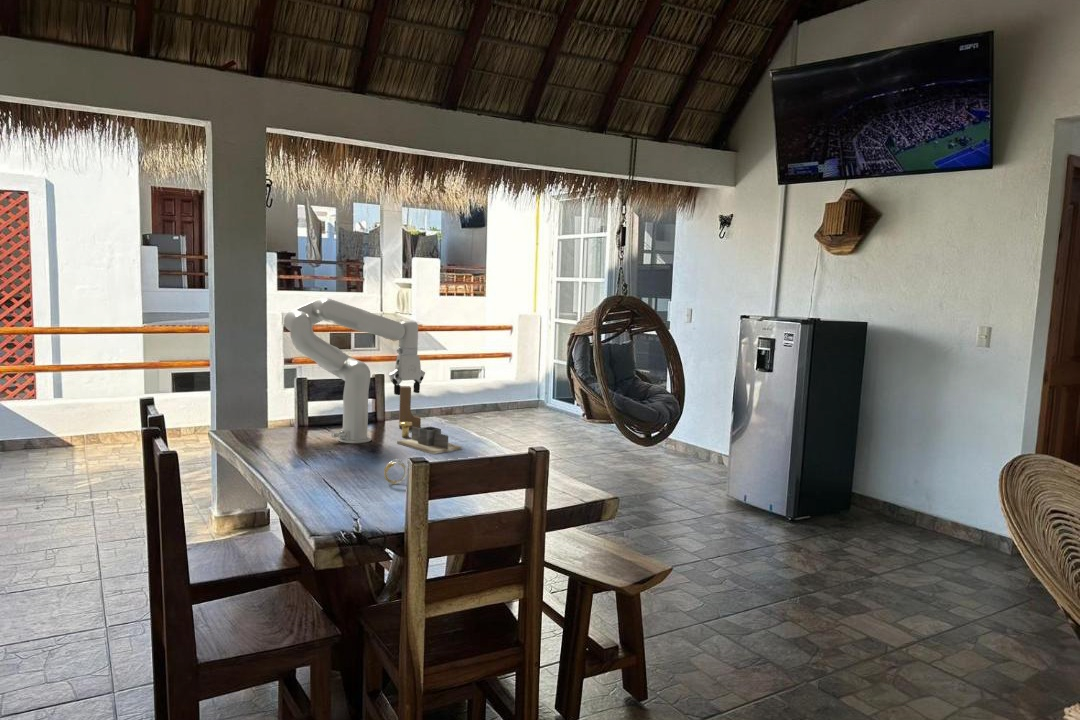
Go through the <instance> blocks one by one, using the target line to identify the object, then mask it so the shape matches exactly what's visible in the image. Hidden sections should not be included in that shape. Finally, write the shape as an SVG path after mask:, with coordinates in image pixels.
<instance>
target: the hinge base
mask: <svg viewBox="0 0 1080 720" xmlns="http://www.w3.org/2000/svg"><path fill="white" fill-rule="evenodd" d="M396 443H397V444H398V445H401V446H405V447H408V448H411V449H414V450H418V451H420V452H421V451H422V452H424V453H428V454H431V455H436V454H441V453H447V452H453V451H460V450H462V449H463V448H462V446H461V445H457V444H453V443H449V435H446V434H443V433H442V429H441V428H438V427H435V426H425V427H420V428H417V427H412V429H411V438H410V439H409V438H408V439H402V440H397V442H396Z"/></svg>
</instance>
